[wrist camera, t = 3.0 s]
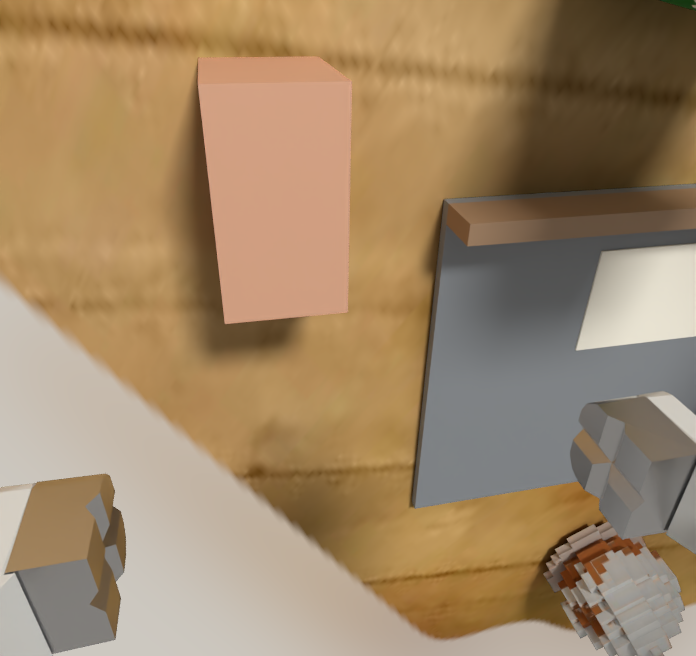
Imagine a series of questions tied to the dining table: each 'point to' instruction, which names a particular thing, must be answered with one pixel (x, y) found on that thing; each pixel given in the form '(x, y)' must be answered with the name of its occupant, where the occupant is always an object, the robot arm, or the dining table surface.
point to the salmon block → (278, 183)
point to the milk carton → (683, 3)
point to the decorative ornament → (617, 592)
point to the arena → (550, 329)
